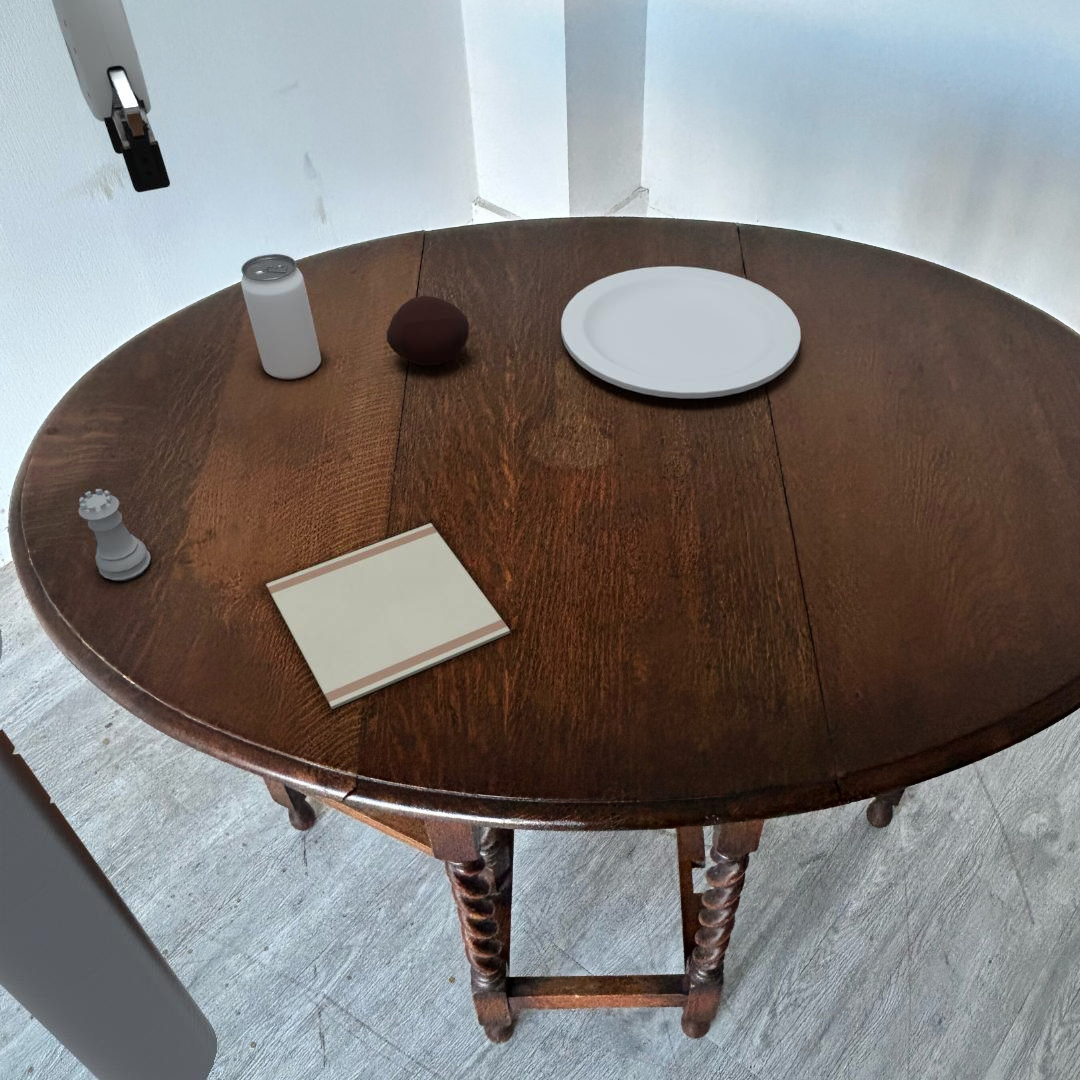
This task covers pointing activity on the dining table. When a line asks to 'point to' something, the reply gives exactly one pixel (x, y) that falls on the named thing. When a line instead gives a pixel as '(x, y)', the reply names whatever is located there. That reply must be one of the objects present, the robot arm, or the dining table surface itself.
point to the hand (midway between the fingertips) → (142, 169)
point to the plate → (680, 332)
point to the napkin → (384, 613)
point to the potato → (428, 331)
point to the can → (280, 316)
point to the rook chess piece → (113, 538)
